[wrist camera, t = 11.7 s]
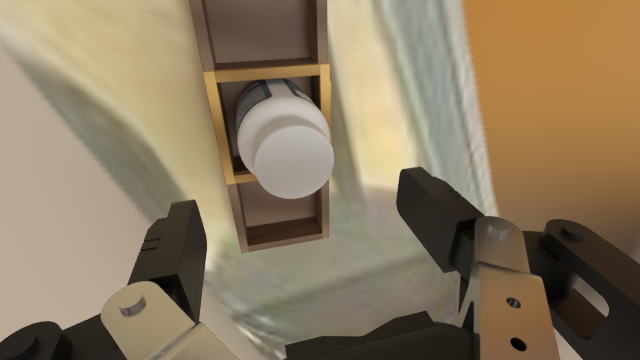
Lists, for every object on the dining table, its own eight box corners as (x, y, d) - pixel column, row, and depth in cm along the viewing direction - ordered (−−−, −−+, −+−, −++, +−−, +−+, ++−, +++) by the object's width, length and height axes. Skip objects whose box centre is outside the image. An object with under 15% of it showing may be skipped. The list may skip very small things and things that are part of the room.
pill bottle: (238, 147, 23) (242, 215, 15) (231, 74, 20) (232, 114, 13) (307, 143, 24) (342, 204, 17) (309, 74, 22) (350, 110, 14)
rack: (183, -68, 17) (170, -85, 14) (316, -65, 19) (334, -81, 15) (240, 226, 28) (241, 257, 24) (323, 213, 29) (334, 240, 26)
